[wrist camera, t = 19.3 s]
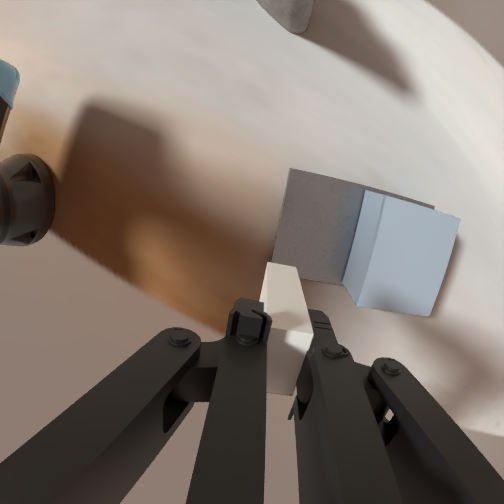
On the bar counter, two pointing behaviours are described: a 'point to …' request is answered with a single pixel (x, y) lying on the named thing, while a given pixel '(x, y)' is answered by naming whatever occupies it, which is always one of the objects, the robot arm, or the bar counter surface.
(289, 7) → the hip flask
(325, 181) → the housing base
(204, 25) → the bar counter surface
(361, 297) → the housing cover
